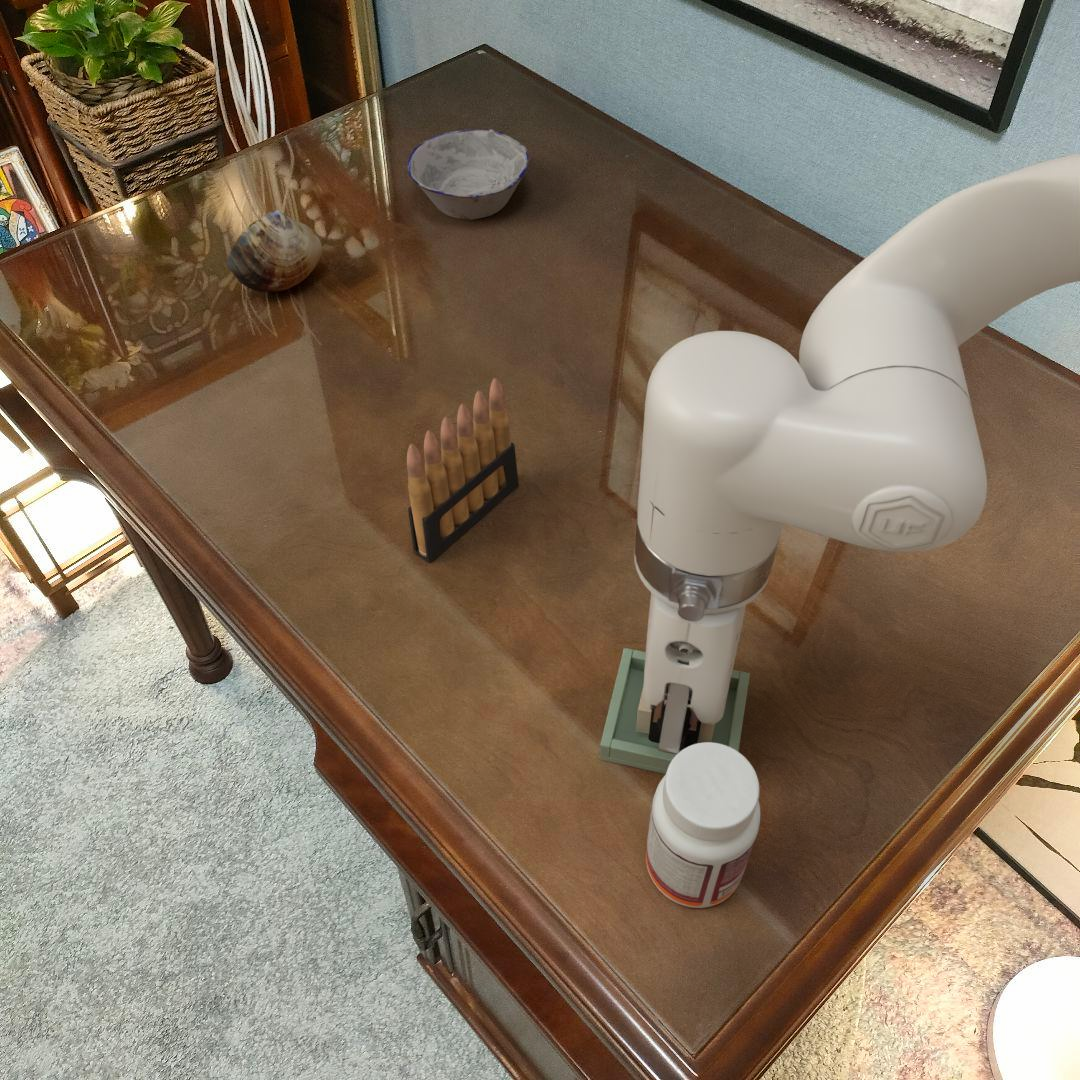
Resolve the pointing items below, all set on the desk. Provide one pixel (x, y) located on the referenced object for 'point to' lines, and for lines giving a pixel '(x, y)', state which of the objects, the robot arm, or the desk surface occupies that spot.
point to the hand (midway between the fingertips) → (678, 710)
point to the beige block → (645, 718)
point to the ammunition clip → (460, 474)
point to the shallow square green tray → (635, 746)
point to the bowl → (469, 171)
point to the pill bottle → (703, 825)
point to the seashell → (274, 253)
